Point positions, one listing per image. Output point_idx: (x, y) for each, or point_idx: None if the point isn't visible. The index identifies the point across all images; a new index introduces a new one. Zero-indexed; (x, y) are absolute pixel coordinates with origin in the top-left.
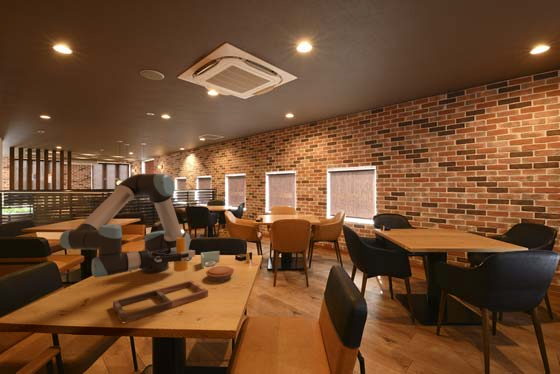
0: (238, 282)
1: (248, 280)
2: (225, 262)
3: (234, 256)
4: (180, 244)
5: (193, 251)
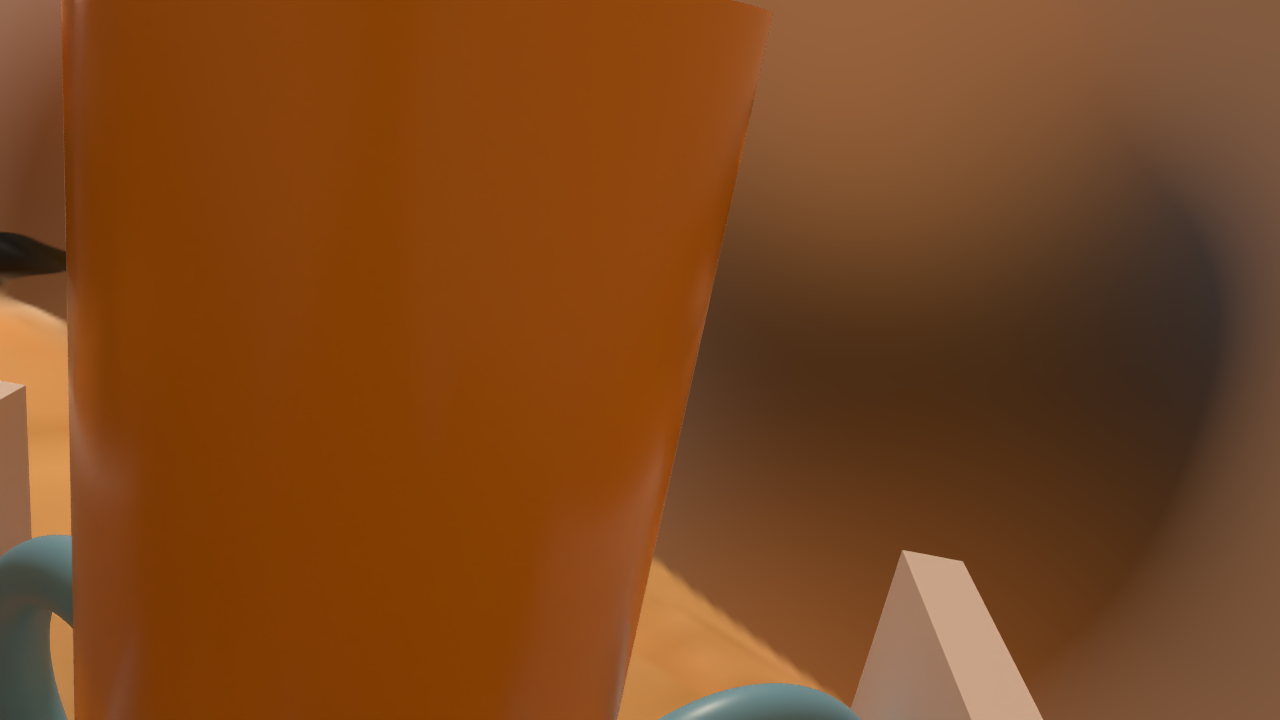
0: (638, 670)
1: (671, 602)
2: (36, 401)
3: (35, 309)
4: (651, 467)
5: (969, 614)
